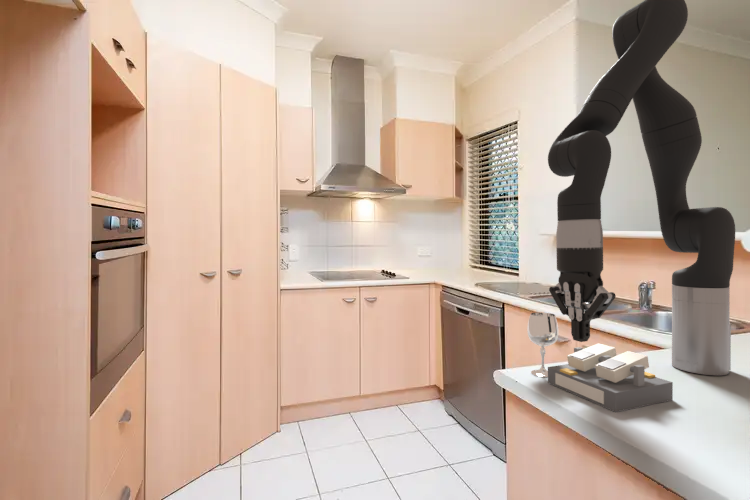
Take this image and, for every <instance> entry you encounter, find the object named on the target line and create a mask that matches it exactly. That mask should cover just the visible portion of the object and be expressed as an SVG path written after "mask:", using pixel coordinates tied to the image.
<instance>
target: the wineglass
mask: <svg viewBox="0 0 750 500" xmlns="http://www.w3.org/2000/svg"><path fill="white" fill-rule="evenodd" d="M529 314H530V315H529V318H528V321H527V329H526V330H527V336H528V338H529V340H530V342H532V343H533V344H535V345H536V346H539V347H541V348H540V350H539V353H540V357H541V366H540V368H539V369H534V370H531V371H530V374H531V375H533V376H535V377H540V378H548V369H546V368H545V357H546V356H545V355H546V347H548V346H549V347H550V346H552V345H553V344H555V343H556V342H557V341H558V339H559V338H558V337H559V324H558V320H557V317H556V314H554V313H549V312H531V313H529Z"/></svg>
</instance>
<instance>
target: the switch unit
mask: <svg viewBox="0 0 750 500" xmlns="http://www.w3.org/2000/svg"><path fill="white" fill-rule="evenodd" d="M583 349H584V348H583V347H581V346H579V347H578V346H577V347H573V353H575V352H578V351H580V350H583ZM610 358H611V356H608V355H605V356H601V362H603V361H606V360H608V359H610ZM547 371H548V377H547V383H548V384H549V385H552V386H554V387H557V388H559V389H561V390H564V391H566V392H567V393H568V392H569V393H570V394H573V395H575V396H577V397H580V398H582V399H585V400H586V401H589V402H592V403H593V404H596V405H598V406H601V407H603V408H605V409H607V410H610V411H612V412H613V413H614V412H615V413H618V412H622V411H627V410H633V409H637V408H642V407H647V406H650V405H656V404H661V403H666V402H670V401H673V395H674V394H673V387H674V386H673V385H674V383H673V381H670V380H667V379H663V378H660V377H657V376H656V374H653V373H651V372H647V371H645V369H644V366H642V365H635V366H634V374H633V375H631V376H629V377H627V378H625V379H623V380H620V381H618V382H616V383H615V382H612V381H609V380H606V379H603V378H601V377H598V376H597V374H596V368H595V367H594V368H592V369H589V370H587V371H585V372H584V371H582V370H579V369H576V368H573V367H570V366H569V364H568V363H566V364H558V365H552V366H547Z"/></svg>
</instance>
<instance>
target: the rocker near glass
mask: <svg viewBox="0 0 750 500" xmlns="http://www.w3.org/2000/svg"><path fill="white" fill-rule="evenodd" d="M605 355H608V356H611V358H613V357H615V356H617V350H616V347H614V346H611V345H607V344H602V343H600V342H598V343H595V344H593V345H590V346H588V347H586V348H583V350H580V351H578V352H575V353H574V352H573V353H570V354H568V355H567V356H566V357H567V364H569V366H570V367H573V368H576V369H579V370H582V371H584V372H585V371H587V370H589V369H592V368H594V367H595V365H596V364H599V363H601V356H605Z"/></svg>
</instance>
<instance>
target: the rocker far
mask: <svg viewBox="0 0 750 500" xmlns="http://www.w3.org/2000/svg"><path fill="white" fill-rule="evenodd" d="M649 363H650V362H649V357H648V355H646V354H642V353H637V352H633V351H630V350H626V351H625V352H622V353H619V354H616V356H615V357H613V358H610V359H608V360H606V361H603V362H601V363H599V364H596V365H595V368H596V374H597V376H598V377H601V378H603V379H606V380H609V381H612V382H615V383H616V382H618V381H620V380H623V379H625V378H627V377H629V376H631V375H633V374H634V366H635V365H642V366H644V370H646V369H648V368H650V364H649Z"/></svg>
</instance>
